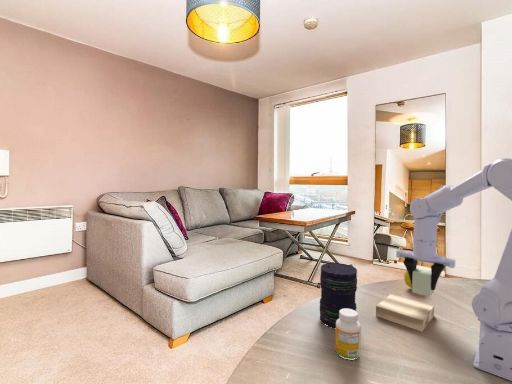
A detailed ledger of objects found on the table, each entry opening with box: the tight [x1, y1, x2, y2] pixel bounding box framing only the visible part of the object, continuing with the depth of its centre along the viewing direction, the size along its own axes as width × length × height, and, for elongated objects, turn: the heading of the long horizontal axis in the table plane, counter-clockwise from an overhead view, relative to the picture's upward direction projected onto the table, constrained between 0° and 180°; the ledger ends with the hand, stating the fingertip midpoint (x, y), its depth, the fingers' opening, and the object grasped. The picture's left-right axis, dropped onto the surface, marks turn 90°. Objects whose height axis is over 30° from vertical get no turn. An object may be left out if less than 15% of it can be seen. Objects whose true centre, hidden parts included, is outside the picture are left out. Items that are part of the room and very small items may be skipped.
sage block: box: [411, 267, 435, 297], centre depth 82 cm, size 4×4×6 cm
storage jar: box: [319, 262, 358, 329], centre depth 79 cm, size 10×10×15 cm
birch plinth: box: [375, 293, 435, 333], centre depth 82 cm, size 12×12×3 cm
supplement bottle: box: [334, 308, 362, 359], centre depth 64 cm, size 5×5×10 cm
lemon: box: [403, 270, 412, 290], centre depth 102 cm, size 6×6×8 cm
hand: (423, 286), depth 82 cm, fingers closed on sage block, 4 cm apart
